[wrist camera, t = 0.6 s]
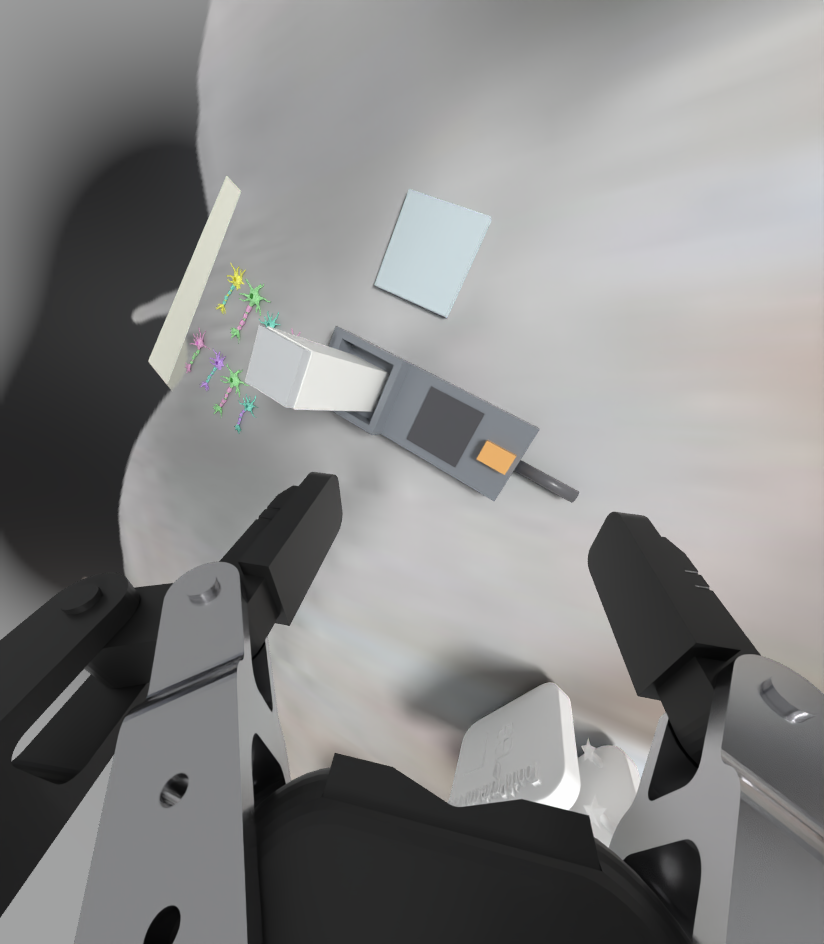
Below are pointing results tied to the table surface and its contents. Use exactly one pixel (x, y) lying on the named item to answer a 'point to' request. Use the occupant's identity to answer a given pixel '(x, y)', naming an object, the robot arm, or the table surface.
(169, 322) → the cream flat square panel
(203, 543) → the table surface
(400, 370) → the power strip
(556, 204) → the table surface
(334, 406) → the block
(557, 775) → the cable organizer
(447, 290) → the mat
